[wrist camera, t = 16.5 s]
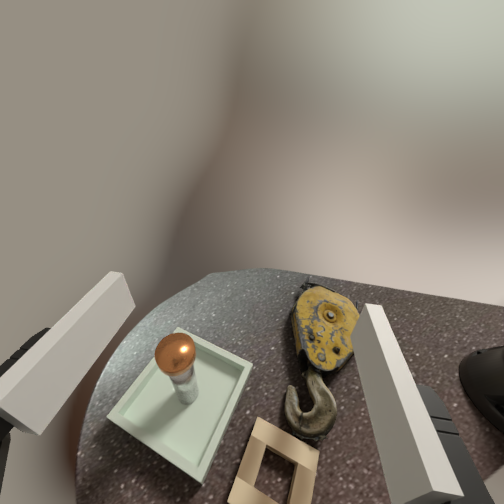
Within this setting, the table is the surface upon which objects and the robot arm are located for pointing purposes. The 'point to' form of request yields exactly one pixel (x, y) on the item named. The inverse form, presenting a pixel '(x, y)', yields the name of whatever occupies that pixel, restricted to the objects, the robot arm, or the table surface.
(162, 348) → the steel pin
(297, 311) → the pulley block
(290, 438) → the bracket
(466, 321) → the table surface
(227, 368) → the pale green tray
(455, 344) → the table surface
